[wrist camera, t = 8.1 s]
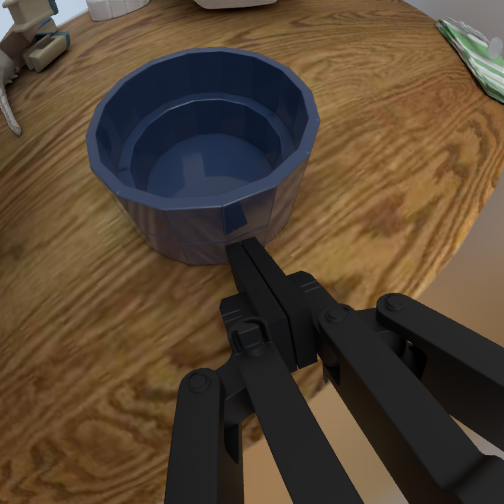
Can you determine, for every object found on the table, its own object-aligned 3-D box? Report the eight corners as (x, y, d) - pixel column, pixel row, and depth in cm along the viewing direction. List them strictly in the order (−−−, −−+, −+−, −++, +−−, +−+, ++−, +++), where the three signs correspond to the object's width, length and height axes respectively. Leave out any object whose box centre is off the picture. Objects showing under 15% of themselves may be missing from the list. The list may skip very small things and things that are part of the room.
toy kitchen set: (-25, 13, 16) (25, -24, 19) (5, 67, 29) (47, 31, 32) (8, -3, 13) (78, -44, 16) (46, 75, 27) (101, 31, 30)
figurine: (493, 34, 26) (448, 7, 32) (484, 55, 30) (441, 26, 36) (505, 42, 27) (462, 14, 33) (496, 61, 32) (455, 32, 37)
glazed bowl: (211, 306, 18) (190, 270, 11) (102, 195, 21) (55, 128, 13) (325, 184, 22) (359, 108, 14) (212, 107, 24) (206, 31, 16)
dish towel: (482, 94, 29) (490, 82, 26) (431, 24, 37) (435, 14, 34) (542, 127, 29) (549, 119, 26) (491, 53, 37) (496, 45, 34)
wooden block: (12, 61, 23) (24, 38, 26) (31, 43, 23) (43, 23, 25) (-4, 46, 19) (12, 25, 22) (16, 27, 19) (30, 8, 21)
